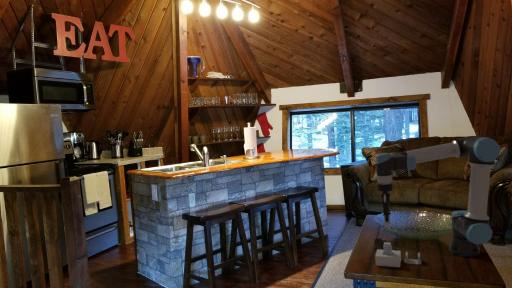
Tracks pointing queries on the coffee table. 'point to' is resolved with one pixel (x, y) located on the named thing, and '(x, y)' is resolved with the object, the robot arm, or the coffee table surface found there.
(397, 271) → the coffee table surface
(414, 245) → the coffee table surface
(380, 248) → the electronic device
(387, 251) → the plug
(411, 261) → the holster
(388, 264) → the panel
